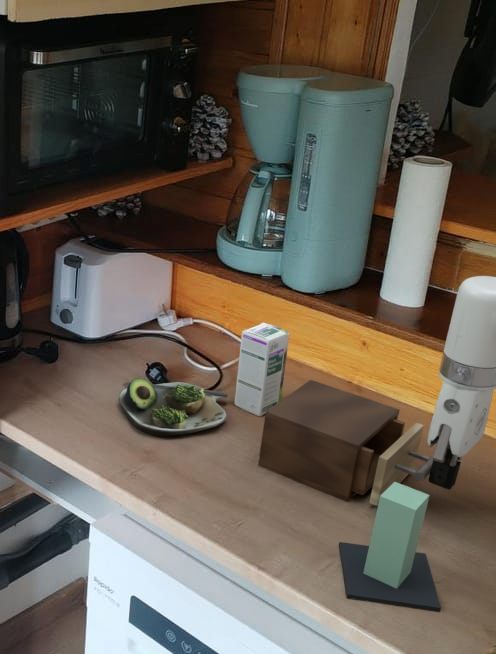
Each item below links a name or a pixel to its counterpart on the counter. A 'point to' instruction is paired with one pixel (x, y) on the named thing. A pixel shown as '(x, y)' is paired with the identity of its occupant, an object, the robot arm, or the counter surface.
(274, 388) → the syrup box
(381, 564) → the block
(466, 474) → the counter surface
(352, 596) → the slate mat
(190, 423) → the avocado toast plate
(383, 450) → the drawer
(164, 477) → the counter surface
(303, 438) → the cabinet
